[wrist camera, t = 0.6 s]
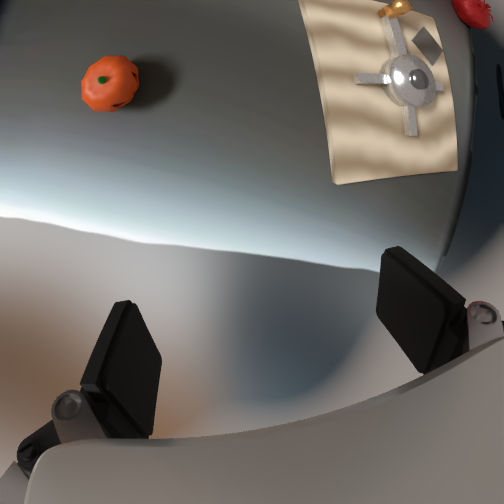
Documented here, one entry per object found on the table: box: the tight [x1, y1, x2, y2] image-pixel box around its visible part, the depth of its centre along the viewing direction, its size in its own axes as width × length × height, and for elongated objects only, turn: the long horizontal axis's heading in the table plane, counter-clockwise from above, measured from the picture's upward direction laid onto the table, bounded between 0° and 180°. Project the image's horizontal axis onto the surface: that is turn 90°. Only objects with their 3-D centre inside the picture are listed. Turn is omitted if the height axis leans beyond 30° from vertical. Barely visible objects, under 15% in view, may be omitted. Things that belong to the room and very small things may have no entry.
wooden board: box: [298, 0, 457, 185], centre depth 31 cm, size 30×26×2 cm
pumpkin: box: [81, 56, 139, 112], centre depth 25 cm, size 8×8×7 cm
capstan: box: [353, 0, 444, 136], centre depth 26 cm, size 22×17×6 cm
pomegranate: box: [452, 0, 493, 29], centre depth 20 cm, size 10×10×9 cm
